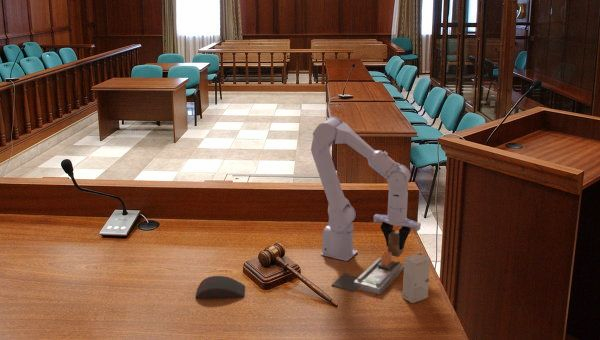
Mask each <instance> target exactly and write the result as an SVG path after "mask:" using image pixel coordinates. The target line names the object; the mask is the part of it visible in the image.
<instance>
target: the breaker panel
mask: <svg viewBox="0 0 600 340" xmlns="http://www.w3.org/2000/svg"><path fill="white" fill-rule="evenodd" d="M379 262H381V257H378V258H377V259H376V260H375V261H374V262H373V263H372V264H371V265H370V266H369V267H367V268H366V270H364V272H363V273H361V274H360V275H359V276H357V277H358V278H357V279H356V280H355V281H354V287H356V288H357V289H356V290H358V291H359V290H360V291H363V292H365V293H369V294H373V295H378V296H380V295H381V294H382V293H383V292H384V291H385V290H386V289H387V288H388V287H389V285H391V284H392V282H393V281H394V280H395V279H396V278H397V277H398V276H399V275H400V274H401V273H402V272H403V271H404V263H401V261H394V260H391V262H395V264H394V265H393V266H392V267H391V268H390V269H387V268H383V267H379V266H377V264H378V263H379Z"/></svg>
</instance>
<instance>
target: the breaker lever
mask: <svg viewBox="0 0 600 340" xmlns="http://www.w3.org/2000/svg"><path fill="white" fill-rule="evenodd" d="M392 258H393V256H392V253H391V252H388V250H385V251H384V252H383V253H382V254H381V262H379V263H378V264H377V266H379V267H383V268H387V269H390V268H391V267H392V266H393V265H394V264H395V262H396V261H394V262H391V261H392Z"/></svg>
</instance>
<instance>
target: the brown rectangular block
mask: <svg viewBox="0 0 600 340" xmlns="http://www.w3.org/2000/svg"><path fill="white" fill-rule="evenodd" d="M399 244H400V235H399V230H397V229H393V230H392V231H391V232H390V233H389V237H388V247H387V252H391V253H392V257H396V258H399V257H400V256H401V255H402V254H403V251H404V248H403V249H402V250H399Z"/></svg>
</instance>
